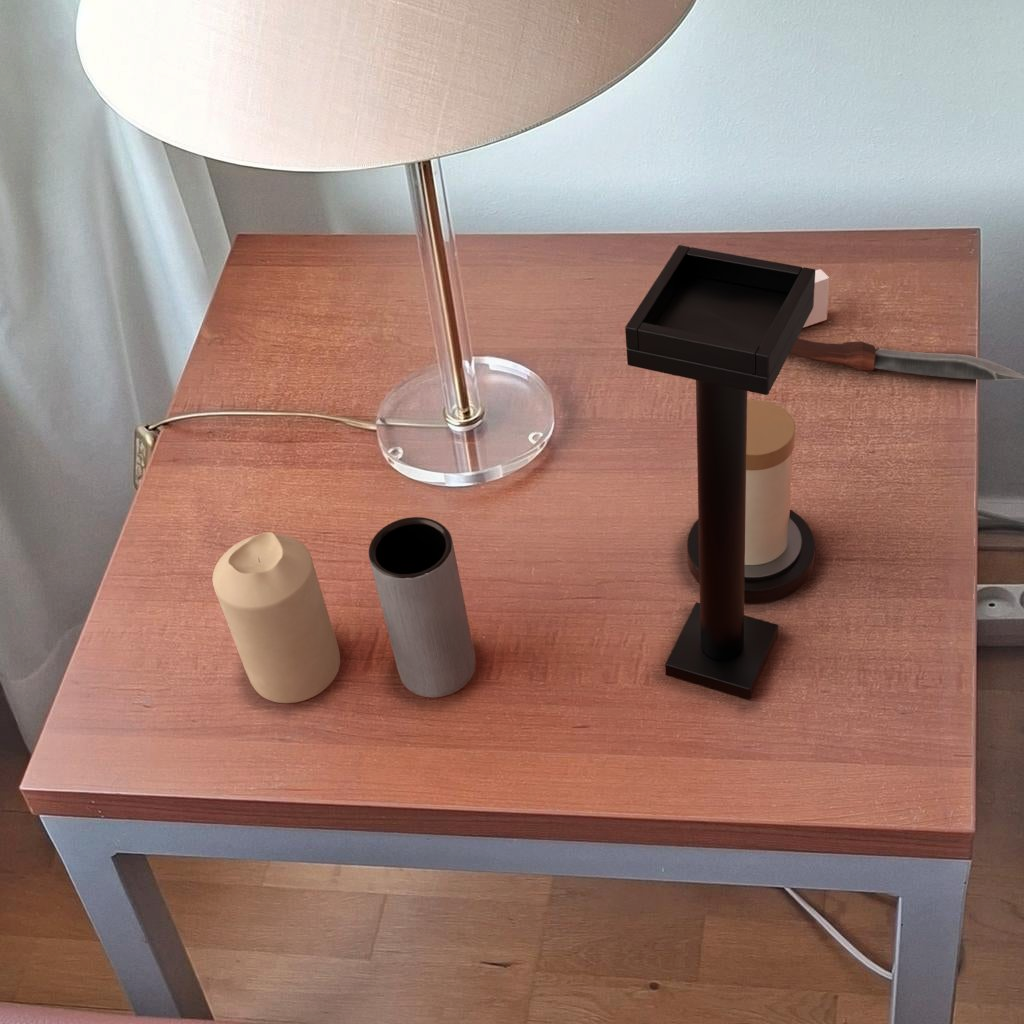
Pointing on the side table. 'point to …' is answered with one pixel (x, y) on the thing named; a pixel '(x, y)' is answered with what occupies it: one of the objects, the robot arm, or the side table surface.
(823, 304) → the eraser
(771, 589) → the plate
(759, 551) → the spice jar
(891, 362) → the knife
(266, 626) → the candle
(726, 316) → the stand
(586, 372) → the side table surface
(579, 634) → the side table surface
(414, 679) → the planter
